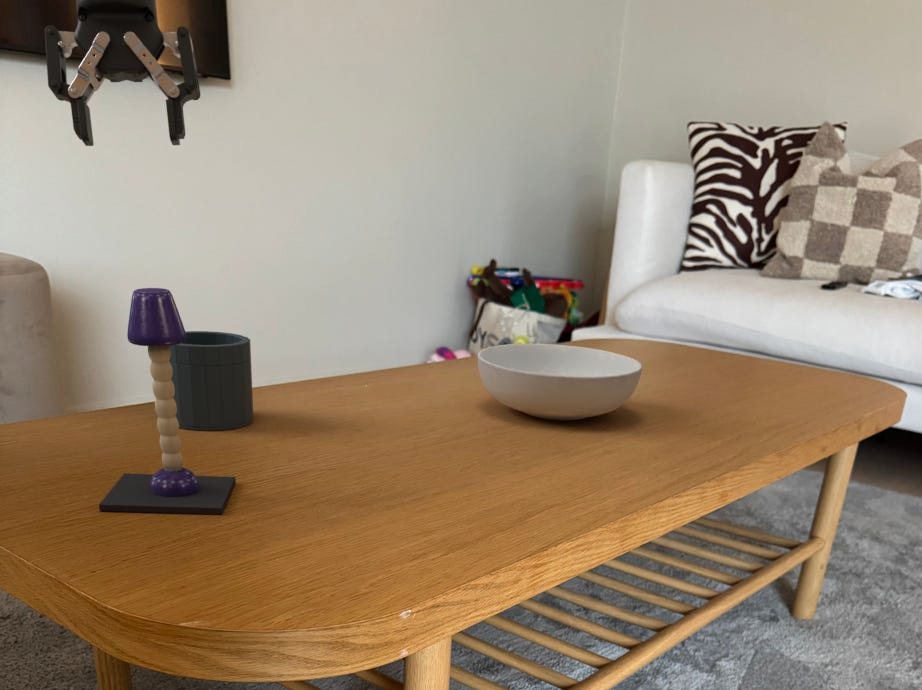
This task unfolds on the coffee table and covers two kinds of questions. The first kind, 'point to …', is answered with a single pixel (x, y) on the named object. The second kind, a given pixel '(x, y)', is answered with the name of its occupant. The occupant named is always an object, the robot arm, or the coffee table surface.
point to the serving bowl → (558, 379)
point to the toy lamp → (162, 382)
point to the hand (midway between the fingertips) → (131, 143)
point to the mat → (138, 497)
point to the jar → (212, 381)
